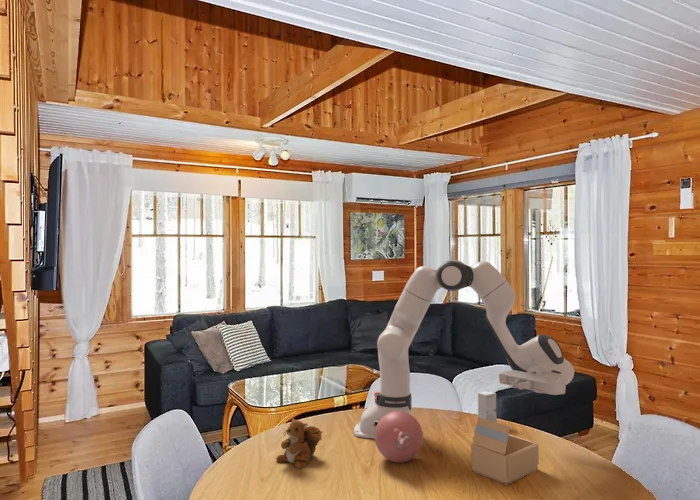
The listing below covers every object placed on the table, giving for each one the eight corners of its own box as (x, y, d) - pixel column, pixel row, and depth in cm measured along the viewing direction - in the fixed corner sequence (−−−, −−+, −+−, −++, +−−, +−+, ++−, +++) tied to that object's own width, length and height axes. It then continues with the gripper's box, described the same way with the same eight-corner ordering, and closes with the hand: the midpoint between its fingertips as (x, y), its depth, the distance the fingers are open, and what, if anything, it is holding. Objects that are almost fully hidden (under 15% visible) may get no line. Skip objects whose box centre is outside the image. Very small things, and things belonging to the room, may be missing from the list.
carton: (503, 456, 162) (503, 431, 163) (540, 470, 152) (540, 443, 152) (470, 470, 152) (470, 444, 152) (508, 486, 142) (507, 457, 142)
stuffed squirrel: (273, 462, 160) (273, 420, 160) (306, 449, 170) (305, 410, 170) (294, 471, 153) (294, 427, 153) (327, 457, 163) (326, 416, 164)
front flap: (479, 417, 153) (477, 416, 153) (510, 426, 145) (509, 426, 144) (473, 443, 152) (472, 443, 151) (505, 454, 143) (503, 454, 143)
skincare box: (486, 427, 190) (486, 395, 190) (477, 424, 194) (477, 392, 194) (497, 424, 193) (497, 392, 193) (488, 421, 197) (488, 390, 197)
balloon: (374, 477, 148) (373, 424, 149) (375, 450, 168) (374, 404, 168) (426, 478, 147) (426, 425, 147) (421, 451, 167) (421, 405, 167)
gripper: (512, 364, 173) (487, 370, 164) (569, 374, 157) (545, 381, 148) (512, 382, 173) (488, 389, 164) (570, 394, 156) (546, 403, 148)
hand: (515, 386), depth 156 cm, fingers closed
